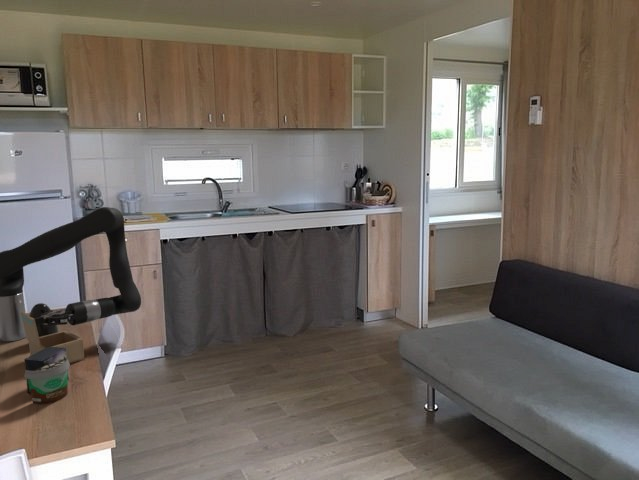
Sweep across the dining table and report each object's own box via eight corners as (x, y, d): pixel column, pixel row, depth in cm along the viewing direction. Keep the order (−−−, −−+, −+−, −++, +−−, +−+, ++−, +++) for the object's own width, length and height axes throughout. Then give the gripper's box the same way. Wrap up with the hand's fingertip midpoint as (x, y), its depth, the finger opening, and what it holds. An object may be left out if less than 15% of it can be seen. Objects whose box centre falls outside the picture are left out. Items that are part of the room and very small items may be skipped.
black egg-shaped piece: (33, 351, 187) (28, 309, 184) (25, 343, 194) (20, 303, 192) (63, 343, 193) (59, 303, 191) (54, 336, 201) (50, 298, 198)
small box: (46, 395, 152) (42, 360, 150) (26, 393, 153) (22, 359, 151) (70, 379, 162) (66, 346, 160) (51, 378, 163) (48, 345, 161)
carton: (30, 359, 179) (27, 339, 178) (68, 348, 188) (66, 329, 187) (47, 370, 169) (44, 350, 167) (86, 359, 178) (84, 339, 176)
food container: (40, 410, 142) (36, 375, 141) (27, 405, 146) (23, 370, 144) (81, 392, 153) (78, 359, 151) (69, 387, 156) (65, 355, 154)
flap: (26, 339, 176) (20, 313, 173) (28, 338, 176) (22, 312, 174) (39, 347, 168) (32, 319, 166) (41, 346, 169) (34, 318, 166)
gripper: (74, 298, 187) (21, 308, 174) (91, 304, 178) (37, 315, 166) (76, 319, 188) (23, 330, 175) (93, 326, 179) (38, 338, 167)
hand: (30, 323), depth 171 cm, fingers closed
